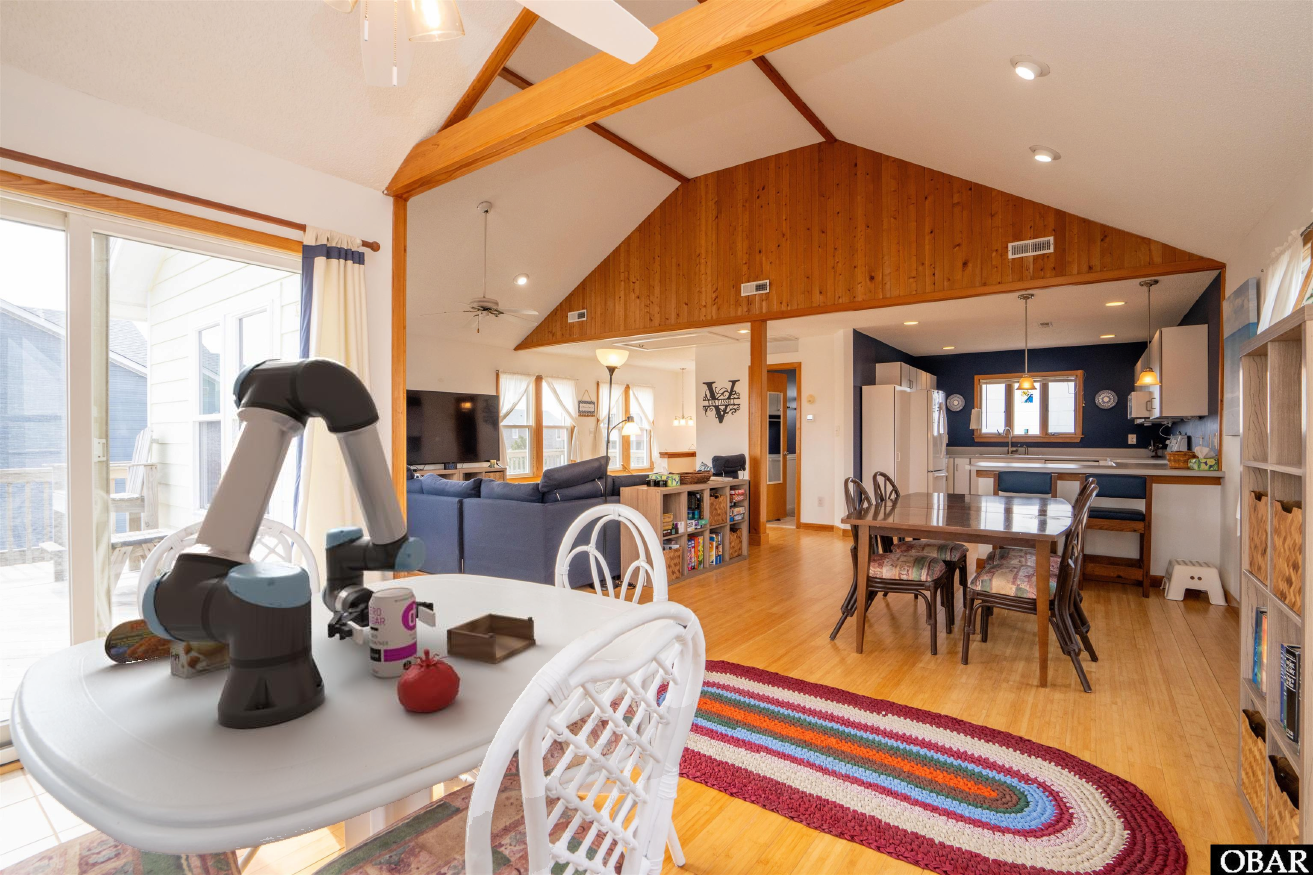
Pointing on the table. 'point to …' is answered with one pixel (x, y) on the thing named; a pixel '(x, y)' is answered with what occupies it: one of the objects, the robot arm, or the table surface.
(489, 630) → the tray
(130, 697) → the table surface
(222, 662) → the coffee box
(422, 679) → the red tomato
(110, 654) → the tin
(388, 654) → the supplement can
